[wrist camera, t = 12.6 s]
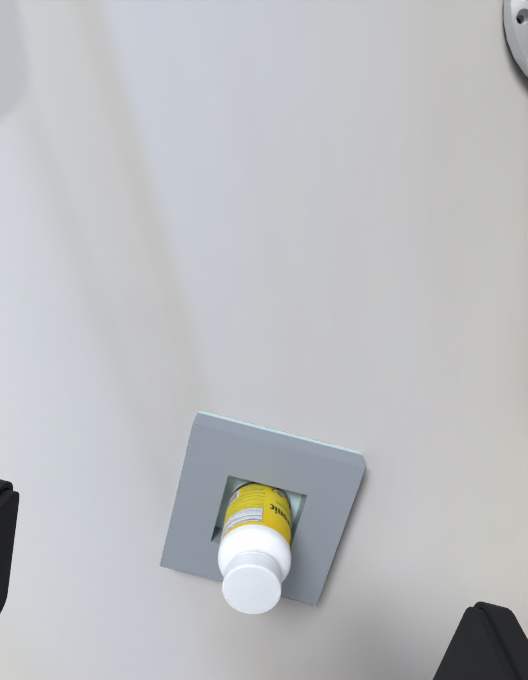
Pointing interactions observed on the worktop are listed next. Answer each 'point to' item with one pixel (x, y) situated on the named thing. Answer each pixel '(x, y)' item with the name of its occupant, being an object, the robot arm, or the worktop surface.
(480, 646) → the robot arm
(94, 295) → the worktop surface
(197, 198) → the worktop surface
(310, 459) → the holder block
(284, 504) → the supplement bottle
